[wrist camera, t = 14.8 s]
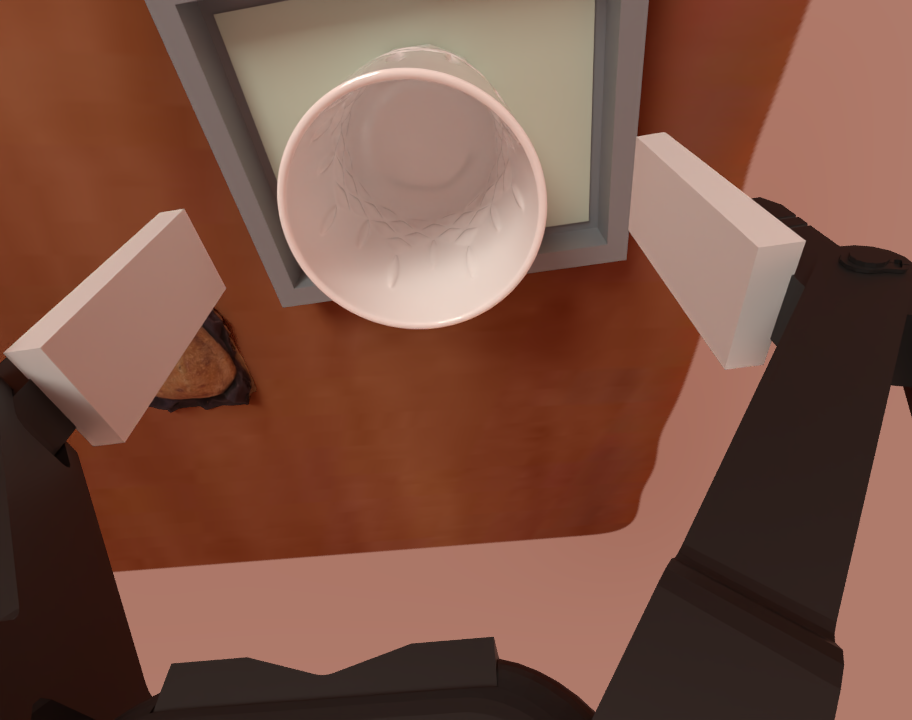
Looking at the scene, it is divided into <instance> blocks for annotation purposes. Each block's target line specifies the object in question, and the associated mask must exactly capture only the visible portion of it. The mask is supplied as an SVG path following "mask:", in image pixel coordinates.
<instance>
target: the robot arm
mask: <svg viewBox="0 0 912 720" xmlns="http://www.w3.org/2000/svg"><path fill="white" fill-rule="evenodd" d="M628 230H629V232H630V233H631V235H632V236H633V238H634V239H635V240H636V242H637V243H638V245H639V246H640V248H641V249H642V251H643V252H644V254H645V255H646V256H647V258H648V259H649V261H650V262H651V264H652V265H653V267H654V268H655V269H656V271H657V272H658V274H659V275H660V277H661V278H662V280H663V281H664V283H665V284H666V285H667V287H668V288H669V290H670V291H671V293H672V294H673V296H674V297H675V298H676V300H677V301H678V303H679V304H680V306H681V307H682V309H683V310H684V311H685V313H686V314H687V316H688V317H689V319H690V320H691V322H692V323H693V325H694V326H695V327H696V329H697V330H698V332H699V333H700V335H701V336H702V338H703V339H704V340H705V342H706V343H707V345H708V346H709V348H710V349H711V351H712V352H713V353H714V355H715V356H716V358H717V359H718V361H719V362H720V364H721V365H722V366H723V368H724V369H725V370H726V369H734V368H742V367H751V366H759V365H764V362H765V359H766V356H767V353H768V350H769V347H770V344H771V341H773V343H774V344H775V345H776V346H777V347H776V349H775V351H774V354H773V356H772V358H771V360H770V362H769V364H768V366H767V368H766V371H765V372H764V374H763V377H762V379H761V381H760V383H759V385H758V387H757V389H756V391H755V393H754V395H753V398H752V400H751V402H750V404H749V406H748V408H747V410H746V413H745V414H744V417H743V419H742V421H741V423H740V425H739V427H738V429H737V431H736V433H735V435H734V437H733V439H732V442H731V444H730V446H729V448H728V450H727V452H726V454H725V456H724V459H723V461H722V463H721V465H720V467H719V469H718V471H717V473H716V476H715V477H714V480H713V481H712V484H711V486H710V488H709V490H708V492H707V494H706V496H705V498H704V500H703V502H702V505H701V507H700V509H699V511H698V513H697V515H696V517H695V519H694V521H693V524H692V526H691V528H690V530H689V532H688V534H687V536H686V538H685V541H684V542H683V544H682V547H681V548H680V550H679V552H678V554H677V555H676V557H675V558H672V559H671V561H670V562H669V564H668V565H667V567H666V569H665V571H664V573H663V575H662V577H661V579H660V580H659V582H658V584H657V586H656V588H655V590H654V593H653V595H652V597H651V599H650V601H649V603H648V605H647V607H646V609H645V611H644V613H643V615H642V617H641V620H640V622H639V623H638V625H637V628H636V630H635V632H634V634H633V636H632V638H631V640H630V642H629V644H628V646H627V648H626V650H625V653H624V655H623V657H622V658H621V661H620V663H619V665H618V667H617V669H616V671H615V673H614V675H613V677H612V679H611V681H610V683H609V686H608V687H607V690H606V691H605V694H604V696H603V698H602V700H601V702H600V704H599V706H598V708H597V710H596V712H595V711H594V710H592V709H591V708H590V707H589V706H588V705H587V704H586V703H585V702H584V701H583V700H582V699H580V698H579V697H578V696H577V695H576V694H574V693H573V692H571V691H570V690H569V689H567V688H566V687H565V686H563V685H562V684H560V683H559V682H557V681H556V680H554V679H552V678H550V677H548V676H546V675H544V674H543V673H541V672H539V671H537V670H534V669H531V668H529V667H526V666H524V665H521V664H519V663H515V662H510V661H506V660H502V659H499V657H498V653H497V649H496V645H495V640H494V637H486V638H474V639H462V640H450V641H438V642H426V643H415V644H409V645H407V646H404V647H402V648H399V649H396V650H394V651H391V652H388V653H386V654H383V655H380V656H378V657H375V658H372V659H370V660H367V661H364V662H362V663H359V664H356V665H354V666H351V667H348V668H346V669H343V670H340V671H338V672H335V673H332V674H329V675H316V674H311V673H307V672H304V671H300V670H295V669H291V668H288V667H284V666H280V665H275V664H271V663H268V662H264V661H259V660H255V659H251V658H247V657H246V658H234V659H223V660H211V661H199V662H187V663H174V664H171V666H170V669H169V671H168V674H167V677H166V679H165V682H164V685H163V687H162V690H161V692H160V693H159V694H157V695H155V696H153V697H152V696H151V694H150V693H149V691H148V688H147V686H146V683H145V680H144V677H143V673H142V670H141V666H140V663H139V660H138V656H137V653H136V650H135V646H134V643H133V639H132V636H131V632H130V629H129V626H128V622H127V619H126V616H125V612H124V609H123V605H122V602H121V599H120V595H119V592H118V589H117V585H116V582H115V578H114V575H113V572H112V568H111V565H110V561H109V558H108V555H107V551H106V548H105V545H104V541H103V538H102V534H101V531H100V528H99V524H98V521H97V518H96V514H95V511H94V507H93V504H92V501H91V497H90V494H89V490H88V487H87V484H86V480H85V477H84V474H83V470H82V467H81V463H80V460H79V457H78V453H77V452H76V451H75V450H74V449H73V448H72V447H71V446H70V445H69V444H68V443H67V442H66V440H67V439H68V438H69V436H70V435H71V434H72V433H73V431H74V430H75V429H77V430H78V431H79V432H80V433H81V434H82V435H83V436H84V437H85V438H86V439H87V440H88V442H89V443H90V444H91V445H92V446H101V445H109V444H117V443H125V442H126V440H127V438H128V437H129V435H130V434H131V432H132V431H133V429H134V428H135V426H136V425H137V423H138V422H139V420H140V419H141V417H142V416H143V414H144V413H145V411H146V410H147V408H148V407H149V405H150V403H151V402H152V400H153V399H154V397H155V396H156V394H157V393H158V391H159V390H160V388H161V387H162V385H163V384H164V382H165V381H166V379H167V378H168V376H169V375H170V373H171V372H172V370H173V368H174V367H175V365H176V364H177V362H178V361H179V359H180V358H181V356H182V355H183V353H184V352H185V350H186V349H187V347H188V346H189V344H190V343H191V341H192V340H193V338H194V337H195V335H196V334H197V332H198V330H199V329H200V327H201V326H202V324H203V323H204V321H205V320H206V318H207V317H208V315H209V314H210V312H211V311H212V309H213V308H214V306H215V305H216V303H217V302H218V300H219V299H220V297H221V295H222V294H223V292H224V291H225V289H226V287H225V285H224V283H223V282H222V280H221V278H220V276H219V274H218V272H217V270H216V268H215V266H214V264H213V263H212V261H211V259H210V257H209V255H208V253H207V251H206V249H205V247H204V245H203V244H202V242H201V240H200V238H199V236H198V234H197V232H196V230H195V228H194V226H193V225H192V223H191V221H190V219H189V217H188V215H187V213H186V211H185V209H180V210H173V211H167V212H161V213H159V214H158V215H157V216H156V217H154V218H153V219H152V220H151V221H150V222H149V223H148V224H147V225H145V226H144V227H143V228H142V229H141V230H140V231H139V232H138V233H137V234H135V235H134V236H133V237H132V238H131V239H130V240H129V241H128V242H126V243H125V244H124V245H123V246H122V247H121V248H120V249H119V250H118V251H116V252H115V253H114V254H113V255H112V256H111V257H110V258H109V259H108V260H106V261H105V262H104V263H103V264H102V265H101V266H100V267H99V268H97V269H96V270H95V271H94V272H93V273H92V274H91V275H90V276H89V277H87V278H86V279H85V280H84V281H83V282H82V283H81V284H80V285H78V286H77V287H76V288H75V289H74V290H73V291H72V292H71V293H70V294H68V295H67V296H66V297H65V298H64V299H63V300H62V301H61V302H59V303H58V304H57V305H56V306H55V307H54V308H53V309H52V310H51V311H49V312H48V313H47V314H46V315H45V316H44V317H43V318H42V319H40V320H39V321H38V322H37V323H36V324H35V325H34V326H33V327H32V328H30V329H29V330H28V331H27V332H26V333H25V334H24V335H23V336H21V337H20V338H19V339H18V340H17V341H16V342H15V343H14V344H13V345H11V346H10V347H9V348H8V349H7V350H6V351H5V352H4V353H3V354H4V355H5V356H6V358H5V359H4V360H3V361H2V362H1V363H0V720H834V719H835V714H836V710H837V705H838V700H839V695H840V690H841V683H842V676H843V669H844V660H843V650H842V649H841V648H840V647H839V646H838V645H837V644H836V643H835V636H834V634H835V627H836V622H837V617H838V613H839V608H840V604H841V600H842V595H843V591H844V587H845V582H846V578H847V574H848V569H849V565H850V561H851V556H852V552H853V547H854V543H855V539H856V534H857V530H858V526H859V521H860V517H861V513H862V508H863V504H864V500H865V495H866V491H867V487H868V482H869V478H870V473H871V469H872V465H873V460H874V456H875V452H876V447H877V442H878V439H879V434H880V430H881V426H882V421H883V416H884V413H885V408H886V404H887V399H888V395H889V391H890V386H891V385H894V386H903V387H904V391H905V395H906V398H907V402H908V405H909V409H910V412H911V416H912V262H911V261H909V260H908V259H907V258H906V257H904V256H901V255H899V254H897V253H894V252H892V251H889V250H885V249H880V248H875V247H869V246H856V245H853V246H838V245H837V244H835V243H834V242H833V241H831V240H830V239H829V238H827V237H826V236H824V235H823V234H822V233H820V232H819V231H817V230H816V229H815V228H813V227H812V226H807V223H806V222H805V221H803V220H802V219H801V218H799V217H796V215H795V214H794V213H792V212H791V211H789V210H788V209H787V208H785V207H784V206H783V205H781V204H778V203H775V202H772V201H769V200H766V199H763V198H761V197H758V198H752V199H751V198H750V197H748V196H747V195H746V194H744V193H743V192H742V191H741V190H739V189H738V188H737V187H735V186H734V185H733V184H731V183H730V182H729V181H728V180H726V179H725V178H724V177H722V176H721V175H720V174H719V173H717V172H716V171H715V170H713V169H712V168H711V167H709V166H708V165H707V164H706V163H704V162H703V161H702V160H700V159H699V158H698V157H696V156H695V155H694V154H693V153H691V152H690V151H689V150H687V149H686V148H685V147H684V146H682V145H681V144H680V143H678V142H677V141H676V140H674V139H673V138H672V137H671V136H669V135H668V134H667V133H665V132H662V133H656V134H650V135H644V136H637V137H636V147H635V158H634V170H633V181H632V193H631V205H630V216H629V228H628Z"/></svg>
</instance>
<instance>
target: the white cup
mask: <svg viewBox="0 0 912 720" xmlns="http://www.w3.org/2000/svg"><path fill="white" fill-rule="evenodd" d="M277 203H278V211H279V217H280V222H281V226H282V229H283V232H284V235H285V238H286V241H287V243H288V245H289V247H290V250H291V252H292V253H293V255H294V257H295V259H296V261H297V262H298V264H299V265H300V267H301V268H302V270H303V271H304V272H305V274H306V275H307V276H308V277H309V279H310V280H311V281H312V282H313V283H314V284H315V285H316V286H317V287H318V288H319V289H320V290H321V291H322V292H323V293H324V294H325V295H327V296H328V297H329V298H330V299H332V300H333V301H334V302H336V303H337V304H339V305H340V306H342V307H343V308H345V309H346V310H348V311H350V312H352V313H354V314H356V315H358V316H360V317H362V318H365V319H367V320H370V321H373V322H376V323H379V324H383V325H387V326H391V327H397V328H405V329H433V328H440V327H446V326H451V325H454V324H458V323H461V322H464V321H467V320H469V319H472V318H474V317H476V316H478V315H480V314H482V313H484V312H486V311H487V310H489V309H491V308H492V307H494V306H495V305H497V304H498V303H499V302H501V301H502V300H503V299H504V298H505V297H506V296H508V295H509V294H510V293H511V292H512V291H513V290H514V289H515V288H516V286H517V285H518V284H519V283H520V282H521V280H522V279H523V278H524V276H525V275H526V274H527V272H528V270H529V269H530V267H531V265H532V264H533V262H534V260H535V258H536V256H537V253H538V251H539V248H540V245H541V242H542V239H543V235H544V231H545V226H546V219H547V190H546V183H545V178H544V174H543V170H542V166H541V163H540V161H539V158H538V155H537V153H536V151H535V149H534V147H533V145H532V143H531V141H530V139H529V137H528V136H527V134H526V133H525V131H524V130H523V128H522V127H521V125H520V124H519V122H518V121H517V120H516V118H515V117H514V115H513V114H512V112H511V111H510V109H509V107H508V106H507V104H506V103H505V101H504V100H503V98H502V97H501V96H500V94H499V93H498V92H497V91H496V89H495V88H494V87H493V86H492V85H491V83H490V82H489V81H488V80H487V79H486V78H485V77H484V76H483V75H482V74H481V73H480V72H479V71H478V70H477V69H476V68H474V67H473V66H472V65H471V64H470V63H469V62H468V61H467V60H466V59H465V58H464V57H462V56H460V55H457V54H455V53H452V52H450V51H447V50H444V49H442V48H439V47H437V46H434V45H432V44H423V45H417V46H410V47H403V48H396V49H392V50H391V51H390V52H388V53H385V54H382V55H381V56H379V57H377V58H375V59H373V60H372V61H370V62H368V63H366V64H365V65H363V66H362V67H360V68H359V69H358V70H357V71H355V72H354V73H353V74H351V75H350V76H349V77H347V78H346V79H345V80H343V81H342V82H341V83H340V84H338V85H337V86H336V87H334V88H333V89H332V90H330V91H329V92H328V93H326V94H325V95H324V96H322V97H321V98H320V99H319V100H318V101H317V102H316V103H315V104H314V105H313V106H312V107H311V108H310V109H309V110H308V111H307V112H306V113H305V114H304V116H303V117H302V118H301V120H300V121H299V122H298V124H297V126H296V127H295V129H294V130H293V132H292V134H291V136H290V138H289V140H288V142H287V145H286V147H285V150H284V153H283V156H282V159H281V163H280V167H279V173H278V181H277Z"/></svg>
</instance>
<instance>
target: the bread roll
mask: <svg viewBox="0 0 912 720" xmlns="http://www.w3.org/2000/svg"><path fill="white" fill-rule="evenodd" d="M230 334H231V332H230V331H229V330H228V328H227V326H225V325H224V324H223V319H222V317H221V316H220V315H219V314H218V313H217V312H216V311H215V310H214V309H212V311H211V312H210V314H209V315H208V317H207V318H206V320H205V321H204V323H203V324H202V326H201V327H200V329H199V330H198V332H197V334H196V335H195V337H194V338H193V340H192V341H191V343H190V344H189V346H188V347H187V349H186V350H185V352H184V353H183V355H182V356H181V358H180V359H179V361H178V362H177V364H176V365H175V367H174V368H173V370H172V372H171V373H170V375H169V376H168V378H167V379H166V381H165V382H164V384H163V385H162V387H161V388H160V390H159V391H158V393H157V394H156V396H155V397H154V399H153V400H152V402H151V403H150V405H149V407H154V408H157V409H162V410H168V411H169V412H170V413H171V412H173V411H175V410H177V409H179V408H187V407H197V406H201V407H203V408H204V409H205V410H208V409H211V408H215V407H218V406H221V405H241V404H246V405H248V404H249V397H251V396H250V394H251V393H252V392H253V391H254V392H256V390H257V389H256V386H255V385H254V381H253V378H252V376H251V375H250V372H249V370H248V368H247V366H246V364H245V361H244V359H243V357H242V355H241V354H240V353H239V351H238V349H237V347H236V346H235V344H234V341H233V340H232V339H231V337H229V335H230Z"/></svg>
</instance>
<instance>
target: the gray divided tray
mask: <svg viewBox="0 0 912 720" xmlns="http://www.w3.org/2000/svg"><path fill="white" fill-rule="evenodd" d="M145 2H146V5H147V7H148V9H149V11H150V14H151V16H152V18H153V20H154V22H155V25H156V27H157V29H158V31H159V34H160V36H161V38H162V40H163V42H164V45H165V47H166V49H167V51H168V54H169V56H170V58H171V60H172V62H173V65H174V67H175V69H176V71H177V73H178V76H179V78H180V80H181V82H182V85H183V87H184V89H185V91H186V93H187V96H188V98H189V100H190V102H191V105H192V107H193V109H194V111H195V113H196V116H197V118H198V120H199V122H200V125H201V127H202V129H203V131H204V133H205V136H206V138H207V140H208V142H209V145H210V147H211V149H212V151H213V153H214V156H215V158H216V160H217V162H218V165H219V167H220V169H221V171H222V173H223V176H224V178H225V180H226V182H227V185H228V187H229V189H230V191H231V193H232V196H233V198H234V200H235V202H236V205H237V207H238V209H239V211H240V213H241V216H242V218H243V220H244V222H245V225H246V227H247V229H248V231H249V233H250V236H251V238H252V240H253V242H254V245H255V247H256V249H257V251H258V253H259V256H260V258H261V260H262V262H263V265H264V267H265V269H266V271H267V273H268V276H269V278H270V280H271V282H272V285H273V287H274V289H275V291H276V293H277V296H278V298H279V300H280V302H281V305H282V307H290V306H297V305H304V304H312V303H319V302H326V301H333V300H332V299H330V298H329V297H328V296H327V295H325V294H324V293H323V292H322V291H321V290H320V289H319V288H318V287H317V286H316V285H315V284H314V283H313V282H312V281H311V280H310V279H309V277H308V276H307V275H306V274H305V272H304V271H303V270H302V268H301V267H300V265H299V264H298V262H297V261H296V259H295V257H294V255H293V253H292V252H291V250H290V247H289V245H288V243H287V241H286V238H285V235H284V232H283V229H282V226H281V222H280V217H279V211H278V203H277V181H278V173H279V167H280V163H281V159H282V156H283V153H284V150H285V147H286V145H287V142H288V140H289V138H290V136H291V134H292V132H293V130H294V129H295V127H296V126H297V124H298V122H299V121H300V120H301V118H302V117H303V116H304V114H305V113H306V112H307V111H308V110H309V109H310V108H311V107H312V106H313V105H314V104H315V103H316V102H317V101H318V100H319V99H320V98H321V97H322V96H324V95H325V94H326V93H328V92H329V91H330V90H332V89H333V88H334V87H336V86H337V85H338V84H340V83H341V82H342V81H343V80H345V79H346V78H347V77H349V76H350V75H351V74H353V73H354V72H355V71H357V70H358V69H359V68H360V67H362V66H363V65H365V64H366V63H368V62H370V61H372V60H373V59H375V58H377V57H379V56H381V55H382V54H385V53H388V52H390V51H391V50H392V49H396V48H403V47H410V46H417V45H423V44H432V45H434V46H437V47H439V48H442V49H444V50H447V51H450V52H452V53H455V54H457V55H460V56H462V57H464V58H465V59H466V60H467V61H468V62H469V63H470V64H471V65H472V66H473V67H474V68H476V69H477V70H478V71H479V72H480V73H481V74H482V75H483V76H484V77H485V78H486V79H487V80H488V81H489V82H490V83H491V85H492V86H493V87H494V88H495V89H496V91H497V92H498V93H499V94H500V96H501V97H502V98H503V100H504V101H505V103H506V104H507V106H508V107H509V109H510V111H511V112H512V114H513V115H514V117H515V118H516V120H517V121H518V122H519V124H520V125H521V127H522V128H523V130H524V131H525V133H526V134H527V136H528V137H529V139H530V141H531V143H532V145H533V147H534V149H535V151H536V153H537V155H538V158H539V161H540V163H541V166H542V170H543V174H544V178H545V183H546V190H547V219H546V226H545V231H544V235H543V239H542V242H541V245H540V248H539V251H538V253H537V256H536V258H535V260H534V262H533V264H532V265H531V267H530V269H529V270H528V272H527V274H528V273H535V272H542V271H550V270H557V269H564V268H571V267H579V266H586V265H593V264H600V263H607V262H615V261H622V260H626V259H627V248H628V236H629V230H628V228H629V216H630V205H631V193H632V181H633V170H634V158H635V147H636V137H637V132H638V120H639V108H640V97H641V85H642V74H643V62H644V50H645V39H646V27H647V16H648V4H649V0H145Z"/></svg>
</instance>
